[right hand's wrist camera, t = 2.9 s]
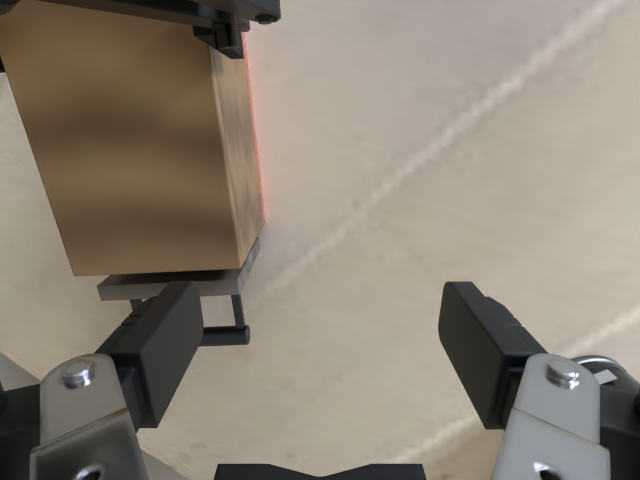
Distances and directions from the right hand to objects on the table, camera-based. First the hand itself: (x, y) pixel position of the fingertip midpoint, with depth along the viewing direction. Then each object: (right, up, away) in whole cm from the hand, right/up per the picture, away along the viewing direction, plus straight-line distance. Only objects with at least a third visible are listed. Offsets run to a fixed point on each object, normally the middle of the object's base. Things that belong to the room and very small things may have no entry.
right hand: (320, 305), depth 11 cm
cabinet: (-11, +12, +18) cm, 24 cm away
